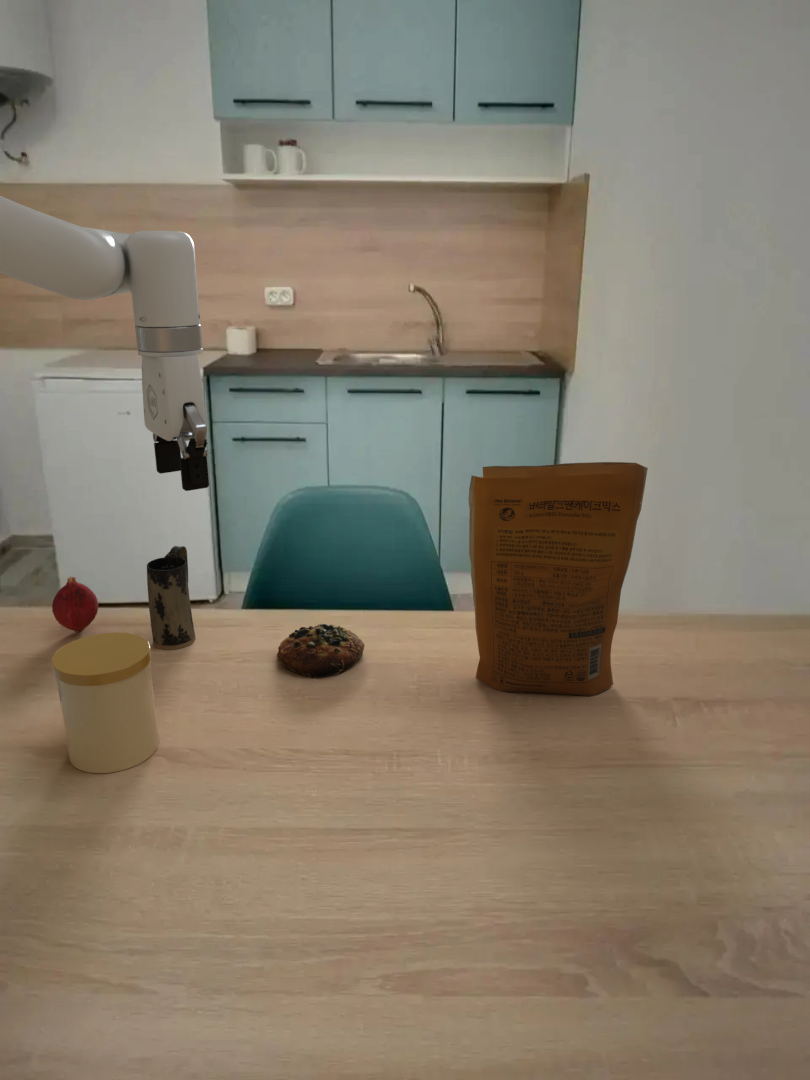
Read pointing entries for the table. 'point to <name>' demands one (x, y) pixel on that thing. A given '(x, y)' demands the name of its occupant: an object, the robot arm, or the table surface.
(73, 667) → the jar
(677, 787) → the table surface
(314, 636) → the bread roll
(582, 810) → the table surface
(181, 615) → the mug
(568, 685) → the pancake mix bag
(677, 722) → the table surface
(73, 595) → the onion
